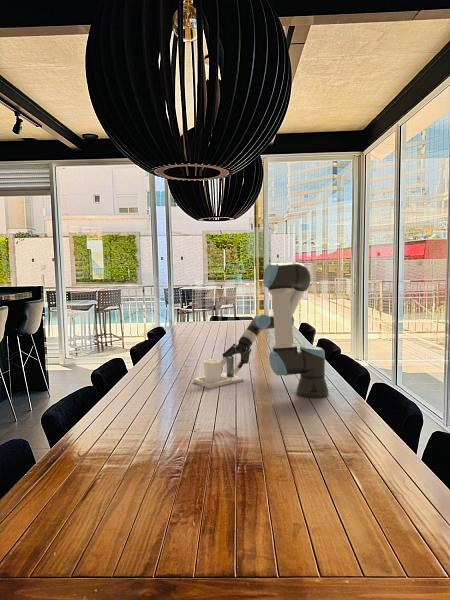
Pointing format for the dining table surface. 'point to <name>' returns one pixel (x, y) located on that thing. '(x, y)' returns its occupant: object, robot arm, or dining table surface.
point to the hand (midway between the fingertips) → (226, 370)
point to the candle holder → (212, 370)
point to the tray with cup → (222, 376)
